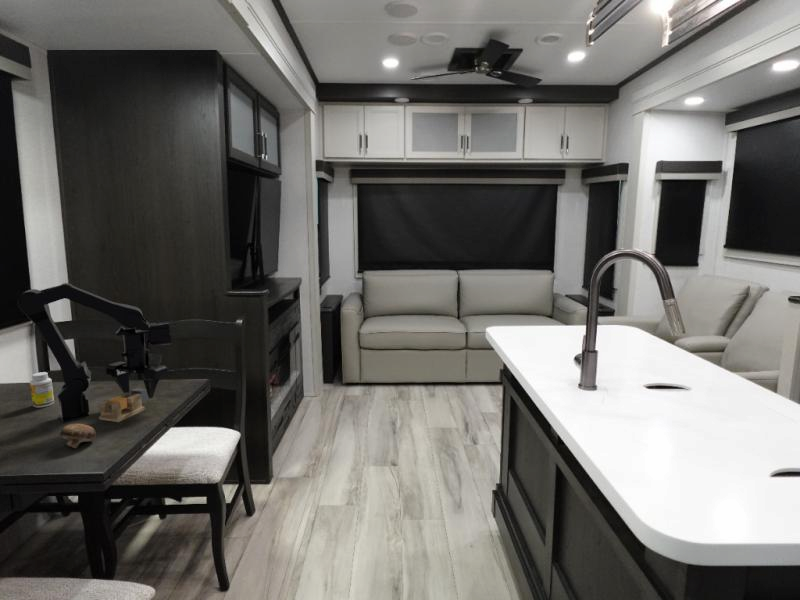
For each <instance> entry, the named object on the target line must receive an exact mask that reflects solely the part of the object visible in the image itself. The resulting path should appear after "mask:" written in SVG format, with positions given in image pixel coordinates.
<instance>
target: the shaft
mask: <svg viewBox="0 0 800 600" xmlns="http://www.w3.org/2000/svg"><path fill="white" fill-rule="evenodd" d="M135 394H141V398H142V405H143V404H146V403H147V402H149V396H148V394H147V390H146V388H142V387H136V388H132V389H130V396H129V397H131V396H133V395H135ZM127 398H128V397H127ZM112 404H114V403H112ZM109 410H110V411H112V405H111V404H110V405H109Z"/></svg>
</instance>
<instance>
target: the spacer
mask: <svg viewBox="0 0 800 600" xmlns="http://www.w3.org/2000/svg"><path fill="white" fill-rule="evenodd" d="M108 402H109V405H110V404H112V403H120V405H121V410H122V409H124V408H127V398H123V397H116V396H113V397H111V398H109V399H108Z"/></svg>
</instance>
